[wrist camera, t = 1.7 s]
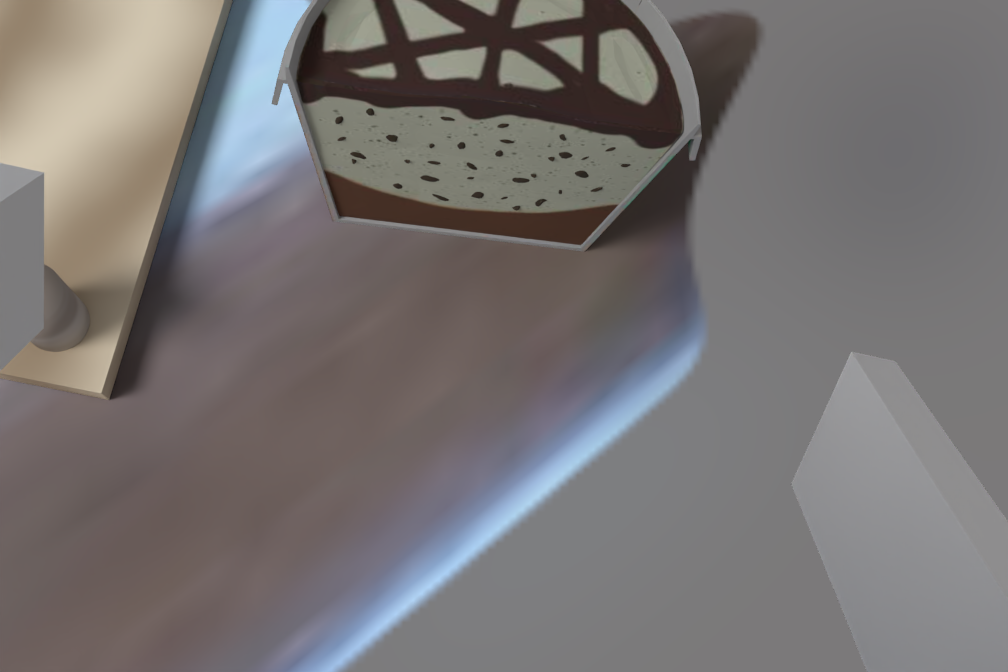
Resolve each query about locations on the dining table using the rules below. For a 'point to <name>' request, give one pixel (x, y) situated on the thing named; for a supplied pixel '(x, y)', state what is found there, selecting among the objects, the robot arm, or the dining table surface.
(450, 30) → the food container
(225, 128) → the dining table surface
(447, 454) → the dining table surface
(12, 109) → the pin plate
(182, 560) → the dining table surface
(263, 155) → the dining table surface
